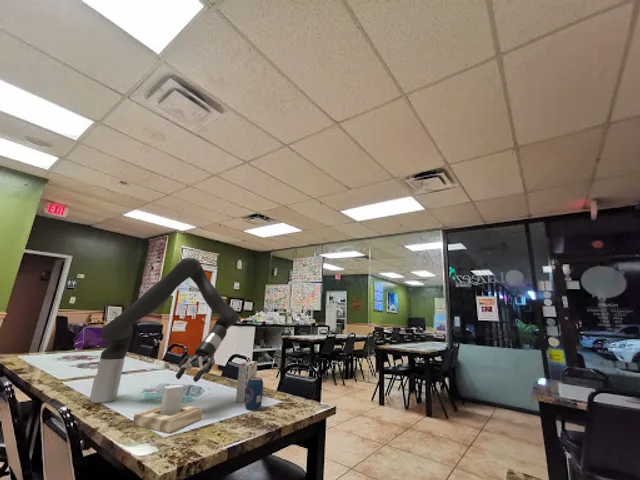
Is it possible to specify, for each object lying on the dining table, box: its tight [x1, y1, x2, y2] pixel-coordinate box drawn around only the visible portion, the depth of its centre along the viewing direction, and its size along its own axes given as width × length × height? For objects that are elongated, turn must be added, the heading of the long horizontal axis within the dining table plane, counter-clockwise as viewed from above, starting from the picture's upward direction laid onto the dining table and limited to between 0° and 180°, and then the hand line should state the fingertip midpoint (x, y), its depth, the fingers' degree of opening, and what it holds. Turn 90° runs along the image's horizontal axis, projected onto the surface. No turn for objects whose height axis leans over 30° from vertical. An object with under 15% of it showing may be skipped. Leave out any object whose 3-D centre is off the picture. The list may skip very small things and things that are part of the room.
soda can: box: [244, 376, 264, 411], centre depth 129 cm, size 7×7×12 cm
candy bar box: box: [235, 360, 258, 404], centre depth 142 cm, size 11×5×16 cm, turn 168°
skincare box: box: [160, 384, 185, 416], centre depth 109 cm, size 6×4×12 cm
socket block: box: [131, 404, 203, 434], centre depth 108 cm, size 16×16×4 cm
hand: (185, 379), depth 116 cm, fingers open, 8 cm apart
